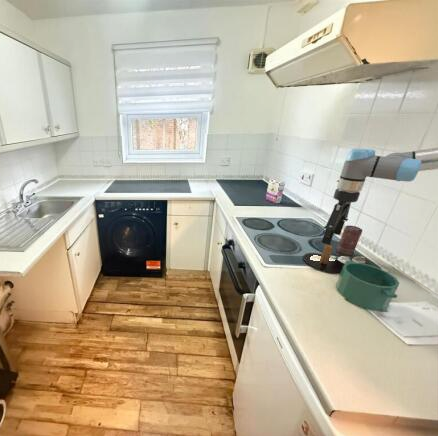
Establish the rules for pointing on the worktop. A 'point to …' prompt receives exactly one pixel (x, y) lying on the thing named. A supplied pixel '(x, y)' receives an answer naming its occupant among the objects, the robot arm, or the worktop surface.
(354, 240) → the can
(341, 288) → the pot
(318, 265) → the lid
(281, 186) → the candy bar box
